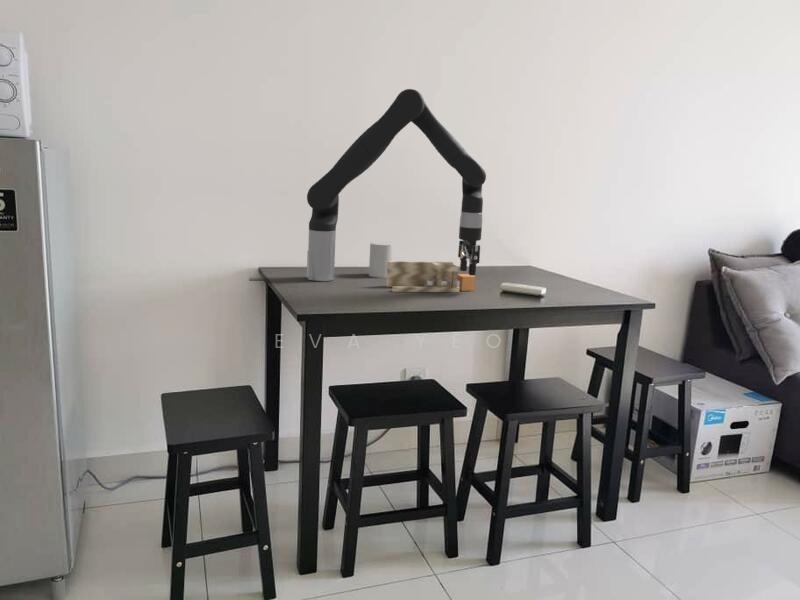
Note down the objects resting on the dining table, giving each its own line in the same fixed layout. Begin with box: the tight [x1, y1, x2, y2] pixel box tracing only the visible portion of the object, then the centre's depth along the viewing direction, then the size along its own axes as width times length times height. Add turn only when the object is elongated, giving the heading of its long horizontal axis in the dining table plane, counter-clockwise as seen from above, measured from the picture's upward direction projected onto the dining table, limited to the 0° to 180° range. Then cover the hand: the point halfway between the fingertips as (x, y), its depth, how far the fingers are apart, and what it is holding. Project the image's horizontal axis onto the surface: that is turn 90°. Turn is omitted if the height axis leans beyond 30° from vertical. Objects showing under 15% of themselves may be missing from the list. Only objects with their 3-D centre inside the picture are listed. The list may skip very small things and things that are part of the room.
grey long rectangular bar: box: [424, 279, 460, 287], centre depth 214 cm, size 12×3×4 cm, turn 108°
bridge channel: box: [385, 260, 460, 293], centre depth 212 cm, size 23×10×8 cm, turn 105°
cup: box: [368, 241, 393, 279], centre depth 232 cm, size 8×8×12 cm
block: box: [458, 273, 477, 292], centre depth 216 cm, size 5×5×5 cm
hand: (467, 272), depth 216 cm, fingers open, 8 cm apart
